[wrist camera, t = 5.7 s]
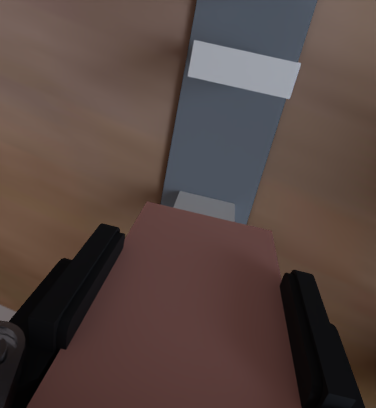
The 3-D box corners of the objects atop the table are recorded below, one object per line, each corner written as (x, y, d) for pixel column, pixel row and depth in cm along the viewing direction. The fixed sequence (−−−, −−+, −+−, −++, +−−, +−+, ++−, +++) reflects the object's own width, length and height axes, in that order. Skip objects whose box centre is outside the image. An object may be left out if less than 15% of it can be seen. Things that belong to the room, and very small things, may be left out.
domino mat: (216, -102, 21) (215, -105, 21) (340, -77, 21) (342, -79, 20) (148, 271, 34) (148, 273, 34) (224, 289, 34) (224, 292, 33)
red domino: (146, 201, 13) (-52, 541, 4) (271, 230, 13) (355, 654, 4) (141, 235, 14) (-38, 589, 5) (259, 263, 14) (307, 687, 5)
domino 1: (180, 190, 29) (154, 252, 20) (234, 203, 29) (234, 271, 20) (176, 206, 30) (151, 272, 21) (230, 219, 30) (227, 291, 21)
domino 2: (210, 43, 24) (194, 39, 15) (277, 58, 24) (301, 63, 15) (205, 66, 25) (187, 76, 16) (270, 81, 25) (289, 99, 16)
